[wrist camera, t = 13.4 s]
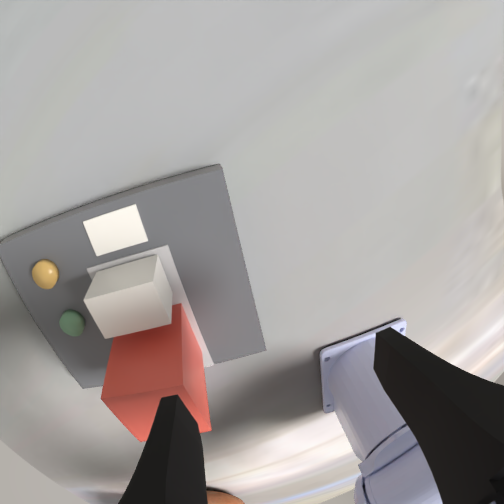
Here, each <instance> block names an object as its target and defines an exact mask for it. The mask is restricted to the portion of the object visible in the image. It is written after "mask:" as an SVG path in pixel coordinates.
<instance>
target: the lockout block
mask: <svg viewBox="0 0 504 504" xmlns="http://www.w3.org/2000/svg"><path fill="white" fill-rule="evenodd" d="M177 394H178V396H179V397H180V399H181V400H182V402H183V403H184V404H185V406H186V407H187V409H188V410H189V412H190V413H191V415H192V416H193V417H194V419H195V420H196V422H197V423H198V427H199V431H200V433H202V432H207V431H212V430H211V422H210V415H209V407H208V399H207V391H206V383H205V374H204V365H203V355H202V351H201V348H200V346H199V344H198V341H197V339H196V337H195V335H194V332H193V330H192V328H191V325H190V323H189V320H188V318H187V316H186V313H185V311H184V308H183V306H182V303H180V304H176V305H172V319H171V324H168V325H164V326H160V327H156V328H152V329H147V330H143V331H139V332H134V333H130V334H125V335H121V336H116V337H114V338H113V342H112V347H111V351H110V355H109V360H108V364H107V369H106V374H105V379H104V384H103V389H102V395H101V400H102V401H103V402H104V403H105V404H106V406H107V407H108V408H109V409H110V410H111V411H112V412H113V414H114V415H115V416H116V417H117V418H118V419H119V420H120V421H121V422H122V423H123V425H124V426H125V427H126V428H127V429H128V430H129V431H130V432H131V433H132V434H133V435H134V436H135V437H136V438H137V439H138V440H139V441H140V442H142V441H147V439H148V436H149V433H150V430H151V427H152V424H153V421H154V418H155V415H156V412H157V408H158V405H159V402H160V399H161V398H162V397H167V396H172V395H177Z"/></svg>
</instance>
